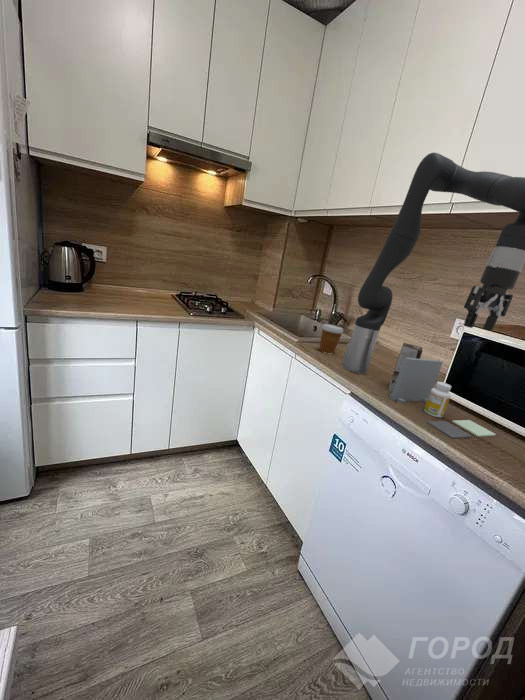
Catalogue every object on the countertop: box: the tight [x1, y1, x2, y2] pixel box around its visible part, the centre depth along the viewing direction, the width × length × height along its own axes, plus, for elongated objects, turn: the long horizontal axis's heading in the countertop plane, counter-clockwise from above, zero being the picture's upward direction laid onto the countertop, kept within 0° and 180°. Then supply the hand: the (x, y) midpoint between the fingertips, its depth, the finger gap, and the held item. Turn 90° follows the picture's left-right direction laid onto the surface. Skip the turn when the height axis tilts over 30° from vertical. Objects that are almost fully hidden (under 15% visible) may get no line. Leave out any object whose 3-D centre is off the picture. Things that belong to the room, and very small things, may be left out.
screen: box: [388, 358, 444, 405], centre depth 106 cm, size 5×16×14 cm, turn 114°
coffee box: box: [387, 342, 423, 392], centre depth 114 cm, size 9×6×16 cm
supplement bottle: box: [423, 381, 452, 418], centre depth 99 cm, size 5×5×10 cm
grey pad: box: [426, 420, 473, 440], centre depth 90 cm, size 8×8×1 cm
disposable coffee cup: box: [319, 323, 344, 353], centre depth 147 cm, size 10×10×12 cm
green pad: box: [451, 419, 497, 437], centre depth 95 cm, size 8×8×1 cm
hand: (477, 328), depth 89 cm, fingers open, 8 cm apart
